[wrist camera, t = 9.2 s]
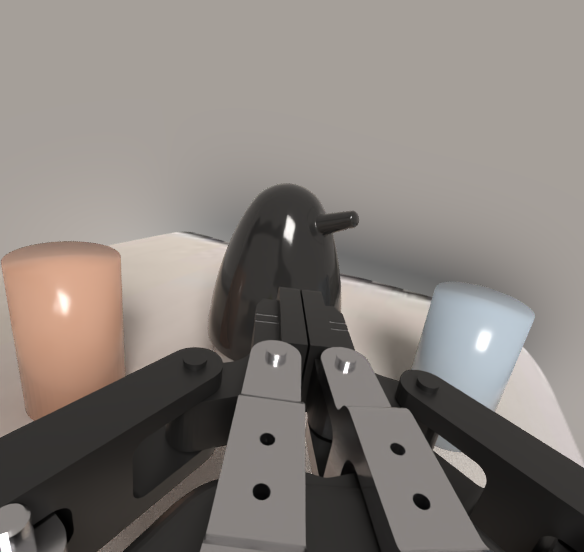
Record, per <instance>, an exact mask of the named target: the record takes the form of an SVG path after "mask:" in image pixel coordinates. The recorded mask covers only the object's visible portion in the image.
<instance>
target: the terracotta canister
mask: <svg viewBox="0 0 584 552" xmlns="http://www.w3.org/2000/svg"><path fill="white" fill-rule="evenodd" d="M1 265H2V272H3V278H4V284H5V290H6V296H7V302H8V308H9V314H10V319H11V325H12V331H13V337H14V343H15V349H16V355H17V361H18V367H19V373H20V379H21V385H22V391H23V397H24V403H25V409H26V412H27V414H28V416H29V417H30V418H31V419H33V420H34V421H35V420H37V419H39V418H41V417H44V416H46V415H48V414H50V413H52V412H54V411H56V410H58V409H60V408H62V407H64V406H66V405H68V404H70V403H72V402H74V401H76V400H78V399H80V398H82V397H84V396H86V395H89V394H91V393H93V392H95V391H97V390H99V389H101V388H103V387H105V386H107V385H109V384H111V383H113V382H115V381H117V380H119V379H121V378H123V377H125V354H124V330H123V305H122V281H121V257H120V254H119V252H118V251H116V250H115V249H113V248H111V247H108V246H105V245H101V244H96V243H89V242H74V241H73V242H72V241H68V242H67V241H64V242H49V243H42V244H35V245H30V246H26V247H22V248H19V249H17V250H14V251H12V252H10V253H8V254H6V255H5V256H4V257H3V258H2V260H1Z"/></svg>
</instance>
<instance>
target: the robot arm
mask: <svg viewBox="0 0 584 552" xmlns="http://www.w3.org/2000/svg"><path fill="white" fill-rule="evenodd" d="M305 412H307V416H308V419H307V423H306V428H305ZM439 435H440V436H441V437H442V438H444V439H445V440H446V441H448V442H449V443H450V444H452V445H453V446H454V447H456V448H457V449H459V450H460V451H461V452H463V453H464V454H465V455H467V456H468V457H469V458H471V459H472V460H473V461H475V462H476V463H477V464H478V465H479V466H480V467H481V468H482V469H483V471H484V473H485V475H486V479H487V482H486V486H485V488H482V487H480V486H478V485H477V484H475V483H474V482H473V481H471V480H470V479H469V478H468V477H466V476H465V475H464V474H462V473H461V472H460V471H459V470H457V469H456V468H455V467H453V466H452V465H451V464H450V463H448V462H447V461H446V460H444V459H443V458H442V457H441V456H439V455H438V454H437V453H435V452H434V451H433V448H434V446H435V443H436V441H437V438H438V436H439ZM305 438H306V443H307V449H308V454H309V459H310V464H311V470H312V474H310V473H307V472H305ZM225 445H227V447H226V451H225V455H224V460H223V464H222V468H221V472H220V477H219V479H217V480H214V481H211V482H208V483H206V484H204V485H201V486H199V487H198V488H196V489H194V490H192V491H191V492H189V493H188V494H186V495H185V496H184V497H182V498H181V499H179V500H178V501H177V502H176V503H175V504H173V505H172V506H171V507H170V508H169V509H168V510H167V511H166V512H165V513H164V514H163V515H161V516H160V517H159V518H158V519H157V520H156V521H155V522H154V523H153V524H152V525H151V526H150V527H149V528H148V529H146V530H145V531H144V532H143V533H142V534H141V535H140V536H139V537H138V538H137V539H136V540H135V541H134V542H133V543H131V544H130V545H129V546H128V547H127V548H126V549H125V550H124V551H123V552H584V468H583V467H581V466H580V465H578V464H577V463H575V462H574V461H572V460H570V459H569V458H567V457H566V456H564V455H562V454H561V453H559V452H558V451H556V450H554V449H553V448H551V447H550V446H548V445H546V444H545V443H543V442H542V441H540V440H538V439H537V438H535V437H534V436H532V435H530V434H529V433H527V432H526V431H524V430H522V429H521V428H519V427H518V426H516V425H514V424H513V423H511V422H510V421H508V420H506V419H505V418H503V417H502V416H500V415H498V414H497V413H495V412H494V411H492V410H491V409H489V408H487V407H486V406H484V405H483V404H481V403H479V402H478V401H476V400H475V399H473V398H471V397H470V396H468V395H467V394H465V393H463V392H462V391H460V390H459V389H457V388H455V387H454V386H452V385H451V384H449V383H447V382H446V381H444V380H443V379H441V378H439V377H438V376H436V375H434V374H432V373H429V372H426V371H422V370H408V371H405V372H404V373H402V375H401V377H400V380H399V381H396V380H393V379H390V378H387V377H383V376H381V375H378V374H376V373H374V371H373V369H372V367H371V365H370V363H369V361H368V360H367V359H366V358H365V357H364V356H363V355H362V354H360V353H358V352H357V351H355V349H354V346H353V343H352V340H351V337H350V335H349V332H348V329H347V326H346V324H345V320H344V317H343V314H342V313H341V312H340V311H338V310H337V309H336V308H335V307H333V306H325V303H324V300H323V296H322V292H320V291H311V290H303V289H301V290H300V289H294V288H285V287H279V289H278V295H277V300H271V299H262V300H261V301H260V302H259V303H258V304H257V305H256V313H255V321H254V329H253V336H252V345H251V352H250V353H249V354H248V355H247V356H246V357H244V358H242V359H240V360H236V361H232V362H224V363H223V361H222V359H221V357H220V356H219V355H218V354H217V353H215V352H213V351H211V350H209V349H205V348H197V347H193V348H185V349H182V350H179V351H176V352H174V353H172V354H170V355H168V356H166V357H164V358H162V359H160V360H158V361H156V362H154V363H152V364H150V365H148V366H146V367H144V368H142V369H140V370H138V371H136V372H134V373H131V374H129V375H127V376H125V377H123V378H121V379H119V380H117V381H115V382H113V383H111V384H109V385H107V386H105V387H103V388H101V389H99V390H97V391H95V392H93V393H91V394H89V395H86V396H84V397H82V398H80V399H78V400H76V401H74V402H72V403H70V404H68V405H66V406H64V407H62V408H60V409H58V410H56V411H54V412H52V413H50V414H48V415H46V416H44V417H41V418H39V419H37V420H35V421H33V422H31V423H29V424H27V425H25V426H23V427H21V428H19V429H17V430H15V431H13V432H11V433H9V434H7V435H5V436H3V437H1V438H0V552H97V551H98V550H99V549H101V548H102V547H103V546H104V545H105V544H107V543H108V542H109V541H110V540H111V539H113V538H114V537H115V536H116V535H117V534H119V533H120V532H121V531H122V530H123V529H125V528H126V527H127V526H128V525H129V524H131V523H132V522H133V521H134V520H135V519H137V518H138V517H139V516H140V515H141V514H143V513H144V512H145V511H146V510H148V509H149V508H150V507H151V506H152V505H154V504H155V503H156V502H157V501H158V500H160V499H161V498H162V497H163V496H164V495H166V494H167V493H168V492H169V491H170V490H172V489H173V488H174V487H175V486H176V485H178V484H179V483H180V482H181V481H182V480H184V479H185V478H186V477H187V476H188V475H190V474H191V473H192V472H193V471H194V470H196V469H197V468H198V467H199V466H200V465H202V464H203V463H204V462H205V461H206V460H208V459H209V458H210V457H211V455H212V454H213V452H214V450H215V447H220V446H225Z"/></svg>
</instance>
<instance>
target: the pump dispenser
mask: <svg viewBox="0 0 584 552" xmlns="http://www.w3.org/2000/svg"><path fill="white" fill-rule="evenodd" d="M358 223H359V216H358V214H357V213H356V212H355V211H346V212H337V213H328V214H326V212H325V210H324V207H323V205H322V204H321V202H320V201H319V199H318V198H317V197H316V196H315V195H314V194H313V193H312V192H311V191H309V190H308V189H306V188H304V187H302V186H299V185H296V184H290V183H284V184H277V185H274V186H271V187H269V188H267V189H265V190H263V191H262V192H261V193H260V194H259V195H258V196H257V197H256V198H255V199H254V200H253V201H252V203H251V204H250V205H249V207H248V208H247V210H246V211H245V213H244V214H243V216H242V218H241V220H240V221H239V223H238V225H237V227H236V229H235V231H234V233H233V236H232V238H231V240H230V243H229V245H228V247H227V250H226V252H225V255H224V258H223V261H222V263H221V266H220V269H219V273H218V276H217V280H216V284H215V288H214V292H213V297H212V302H211V307H210V312H209V320H208V335H209V338H210V341H211V343H212V344H213V345H214V349H215V352H216V353H217V354H218V355H219V356H220V357H221V359H222V361H223V363H224V362H232V361H236V360H240V359H242V358H244V357H246V356H247V355H248V354H249V353H250V352H251V345H252V336H253V329H254V321H255V313H256V305H257V304H258V303H259V302H260V301H261V300H262V299H271V300H277V295H278V289H279V287H285V288H294V289H300V290H301V289H303V290H311V291H320V292H322V296H323V300H324V303H325V306H333V307H335V308H336V309H337V310H338V311H340V312H341V281H340V271H339V263H338V256H337V250H336V245H335V241H334V236H333V233H335V232H339V231H343V230H346V229H348V228H354V227H356V226H357V225H358Z"/></svg>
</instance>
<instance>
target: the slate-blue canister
mask: <svg viewBox="0 0 584 552" xmlns="http://www.w3.org/2000/svg"><path fill="white" fill-rule="evenodd" d="M534 318H535V314H534V312H533V311H532V310H531V309H530V308H529V307H528V306H527V305H525V304H524V303H522V302H521V301H519V300H517V299H515V298H513V297H511V296H509V295H507V294H504V293H502V292H499V291H496V290H494V289H490V288H487V287H483V286H480V285H475V284H470V283H463V282H444V283H441V284H438V285H437V286H436V288H435V291H434V295H433V298H432V301H431V305H430V308H429V311H428V315H427V318H426V321H425V325H424V328H423V331H422V335H421V338H420V341H419V345H418V348H417V352H416V355H415V358H414V362H413V365H412V368H411V370H422V371H426V372H429V373H432V374H434V375H436V376H438V377H439V378H441V379H443V380H444V381H446V382H447V383H449V384H451V385H452V386H454V387H455V388H457V389H459V390H460V391H462V392H463V393H465V394H467V395H468V396H470V397H471V398H473V399H475V400H476V401H478V402H479V403H481V404H483V405H484V406H486V407H487V408H489V409H491V410H492V411H494V412H495V411H496V409H497V406H498V404H499V402H500V399H501V397H502V395H503V392H504V390H505V387H506V385H507V383H508V380H509V378H510V375H511V373H512V371H513V368H514V366H515V364H516V361H517V359H518V356H519V354H520V352H521V349H522V347H523V344H524V342H525V340H526V337H527V335H528V333H529V330H530V328H531V325H532V323H533V321H534ZM435 446H437V447H439V448H442V449H445V450H449V451H454V452H461V451H460V450H459V449H457V448H456V447H454V446H453V445H452V444H450V443H449V442H448V441H446V440H445V439H444V438H442V437H441V436H440V435H439V436H438V438H437V441H436V443H435Z"/></svg>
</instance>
